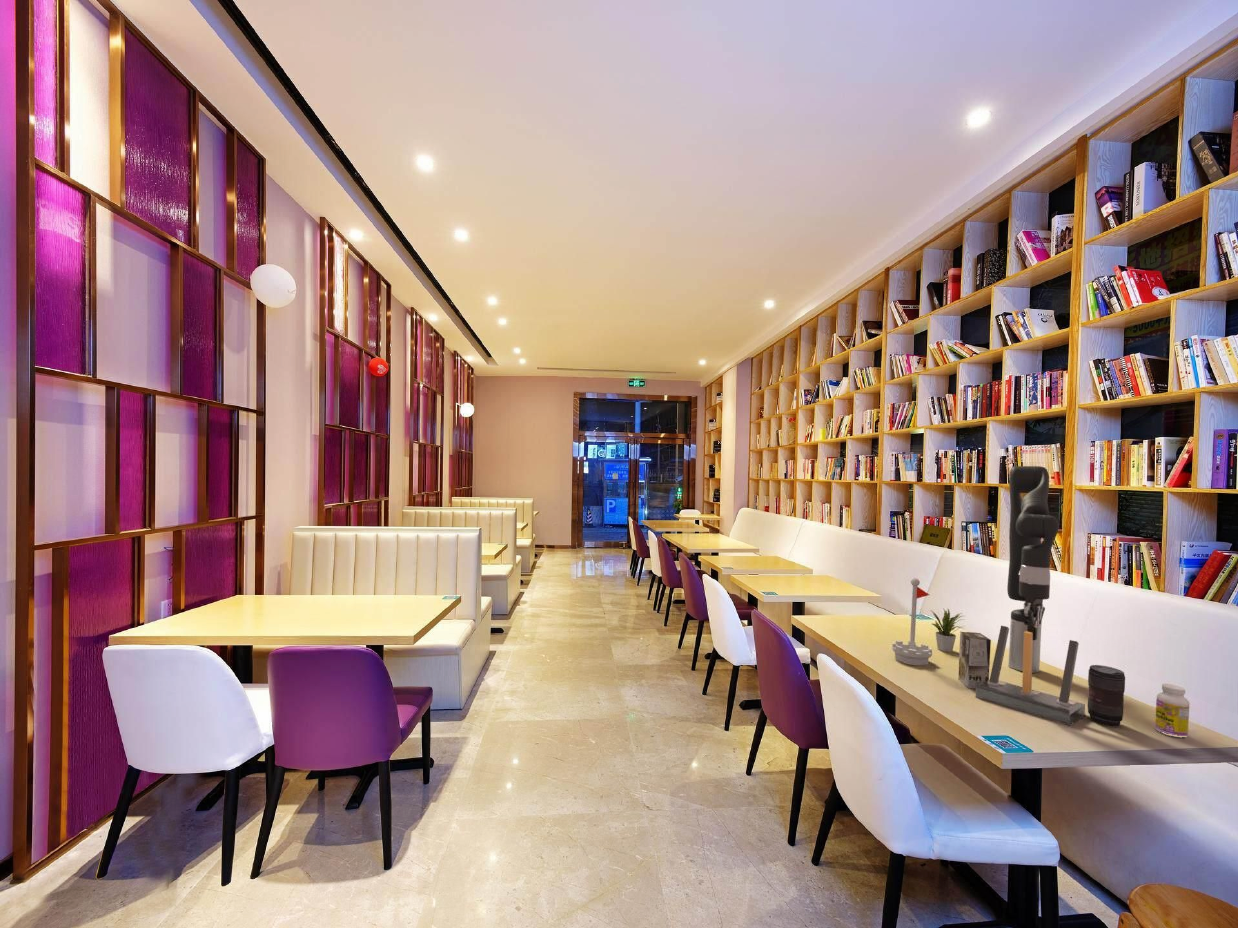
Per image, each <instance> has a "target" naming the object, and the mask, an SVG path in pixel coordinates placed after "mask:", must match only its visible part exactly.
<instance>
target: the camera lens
mask: <svg viewBox="0 0 1238 928" xmlns="http://www.w3.org/2000/svg"><path fill="white" fill-rule="evenodd" d="M1087 685H1088V694H1087V696H1088V697H1087V713H1088V715H1089V720H1091V722H1093V723H1096V724H1097V725H1102V726H1105V727H1106V726H1107V727H1110V728H1119V727H1121V722H1122V721H1123V717H1124V707H1125V705H1124V699H1125V698H1124V697H1125V694H1124V693H1125V691H1126V690H1125V689H1126V688H1125V687H1126V676H1125V672H1124V671H1123V670H1121V669H1118V668H1116V667H1112V666H1108V665H1101V664H1100V665H1099V664H1092V665H1090V666H1089V669H1088V678H1087Z"/></svg>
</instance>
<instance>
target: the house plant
mask: <svg viewBox="0 0 1238 928" xmlns="http://www.w3.org/2000/svg"><path fill="white" fill-rule="evenodd" d="M942 609H943V611H944V612H943V617H942V620H940V617H938V615H937V614H936V613H935V612H934V611H933V610H930V609H929V611H930V612H931V613H932V615H933V616H934V617H935V619H934V622H935V623H931V625H932V626H934V627H935V628H936V629H937V630H938V631H936V632H935V638H936V648H937V650H939V651H941V652H945V653H952V652H953V650H954V646H955V642H956V638H957V635H956V634H954V632H956V631H957V630H959V629H963V630H964V627H962V626H956V623H958V622H959V621H962V620H963V621H964V619H960V618H963V617H964V615H962V614H963V612H961V613H960V612H959V613H957V614H956V615H954V616H953V617H951V613H950V609H949V608H947V610H945V608H942ZM955 621H956V622H955ZM956 628H957V629H956ZM955 629H956V630H955ZM953 630H954V631H953Z"/></svg>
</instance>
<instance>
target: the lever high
mask: <svg viewBox="0 0 1238 928" xmlns="http://www.w3.org/2000/svg"><path fill="white" fill-rule="evenodd" d="M1078 649H1079V642H1078V641H1077V640H1072V639H1069V643H1068V647H1067V654H1066V657H1065V664H1064V665H1065V666H1064V670H1063V675H1062V681H1061V682H1062V683H1061V687H1060V692H1059V696H1058V697H1059V700H1057V705H1061V706H1064V707H1068V708H1069V707H1070V703H1068V702H1069V700H1070V697H1071V691H1072V690H1071V689H1072V686H1073V685H1072V684H1073V678H1074V672H1075V666H1076V661H1077V654H1078Z"/></svg>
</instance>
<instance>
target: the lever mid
mask: <svg viewBox="0 0 1238 928" xmlns="http://www.w3.org/2000/svg"><path fill="white" fill-rule="evenodd" d="M1032 647H1033V633H1032V632H1027V631H1025V632H1024V639H1023V671H1022V686H1021V687H1022V690H1021V694H1022V695H1025V696H1029V697H1033V693H1032V690H1033V689H1032V687H1033V686H1032V683H1033V682H1032V681H1033V679H1032V678H1033V673H1032Z"/></svg>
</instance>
